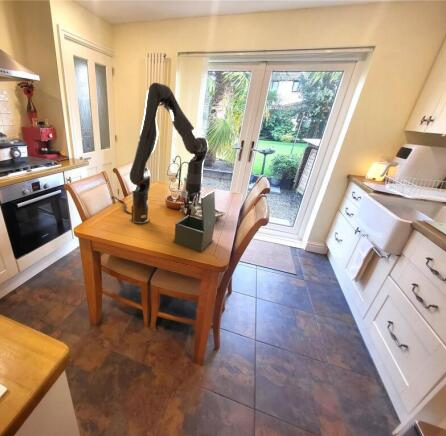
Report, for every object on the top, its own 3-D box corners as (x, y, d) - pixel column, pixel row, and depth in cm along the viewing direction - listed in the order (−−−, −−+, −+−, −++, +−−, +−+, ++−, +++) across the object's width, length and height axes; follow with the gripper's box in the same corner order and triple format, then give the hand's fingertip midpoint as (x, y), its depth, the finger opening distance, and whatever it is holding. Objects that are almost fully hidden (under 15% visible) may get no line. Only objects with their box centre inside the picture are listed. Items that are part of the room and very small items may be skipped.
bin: (174, 241, 123) (175, 223, 119) (186, 232, 134) (188, 214, 129) (200, 251, 116) (203, 232, 111) (212, 240, 126) (214, 222, 121)
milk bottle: (189, 202, 176) (191, 176, 168) (190, 206, 169) (193, 179, 161) (179, 202, 176) (181, 176, 168) (180, 206, 169) (182, 179, 161)
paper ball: (183, 215, 119) (184, 205, 117) (188, 212, 123) (189, 202, 121) (193, 218, 117) (194, 208, 114) (197, 214, 121) (199, 205, 118)
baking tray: (172, 213, 157) (173, 205, 155) (192, 205, 172) (192, 198, 169) (210, 228, 139) (212, 220, 137) (228, 217, 154) (230, 210, 151)
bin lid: (200, 198, 105) (202, 198, 105) (212, 190, 116) (214, 190, 115) (202, 231, 111) (204, 232, 110) (214, 221, 121) (215, 222, 121)
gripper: (193, 176, 120) (191, 207, 127) (179, 183, 109) (177, 216, 116) (207, 179, 116) (203, 211, 123) (194, 186, 105) (190, 220, 112)
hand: (190, 213), depth 119 cm, fingers closed on paper ball, 4 cm apart
